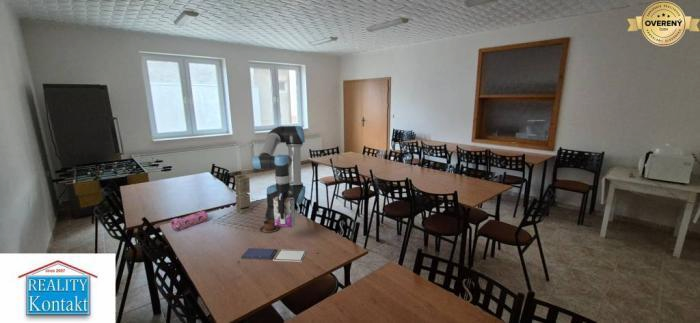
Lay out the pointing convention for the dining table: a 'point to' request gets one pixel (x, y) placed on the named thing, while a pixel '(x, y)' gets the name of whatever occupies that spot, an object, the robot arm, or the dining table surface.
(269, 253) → the ink pad
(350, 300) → the dining table surface
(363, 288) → the dining table surface
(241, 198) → the block tower
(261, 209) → the dining table surface
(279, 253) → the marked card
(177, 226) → the pencil case
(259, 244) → the dining table surface
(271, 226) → the cup and saucer
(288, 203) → the candy bar box
